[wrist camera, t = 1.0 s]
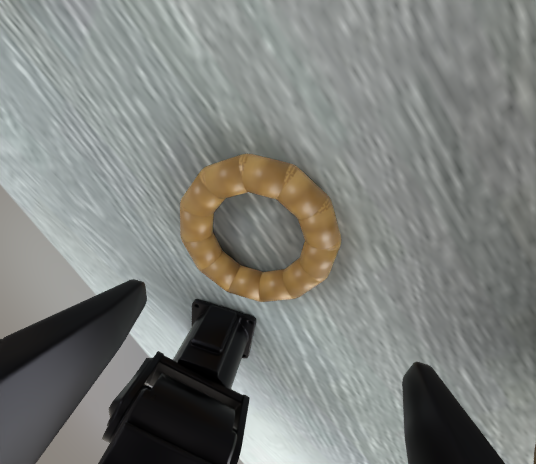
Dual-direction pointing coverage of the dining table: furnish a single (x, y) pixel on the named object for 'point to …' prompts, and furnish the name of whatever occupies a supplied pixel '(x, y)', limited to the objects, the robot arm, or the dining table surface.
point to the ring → (273, 186)
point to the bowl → (535, 455)
